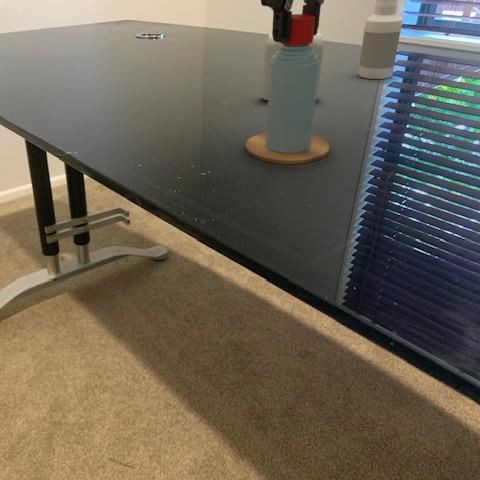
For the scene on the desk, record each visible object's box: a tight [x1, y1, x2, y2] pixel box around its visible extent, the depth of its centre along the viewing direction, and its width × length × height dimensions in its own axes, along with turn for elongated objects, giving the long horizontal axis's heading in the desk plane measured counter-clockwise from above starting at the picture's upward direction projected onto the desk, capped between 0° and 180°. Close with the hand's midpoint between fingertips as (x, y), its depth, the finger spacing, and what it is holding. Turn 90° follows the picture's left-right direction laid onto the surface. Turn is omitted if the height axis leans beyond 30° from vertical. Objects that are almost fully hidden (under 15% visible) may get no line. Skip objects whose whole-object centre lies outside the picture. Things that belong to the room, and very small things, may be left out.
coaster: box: [244, 132, 330, 165], centre depth 74 cm, size 12×12×1 cm
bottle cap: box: [281, 13, 315, 45], centre depth 66 cm, size 4×4×3 cm
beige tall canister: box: [357, 0, 403, 80], centre depth 102 cm, size 7×7×18 cm
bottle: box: [265, 44, 320, 153], centre depth 69 cm, size 6×6×17 cm
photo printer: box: [261, 31, 324, 101], centre depth 92 cm, size 10×4×12 cm, turn 78°
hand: (295, 38), depth 66 cm, fingers open, 5 cm apart
